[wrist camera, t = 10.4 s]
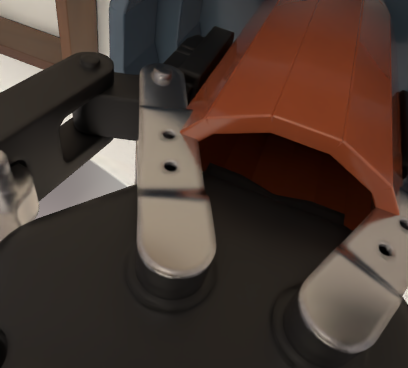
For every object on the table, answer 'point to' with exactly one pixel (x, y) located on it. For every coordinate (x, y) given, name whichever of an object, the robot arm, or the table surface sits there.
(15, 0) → the table surface
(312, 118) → the cup
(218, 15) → the basin
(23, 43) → the wooden divided tray
